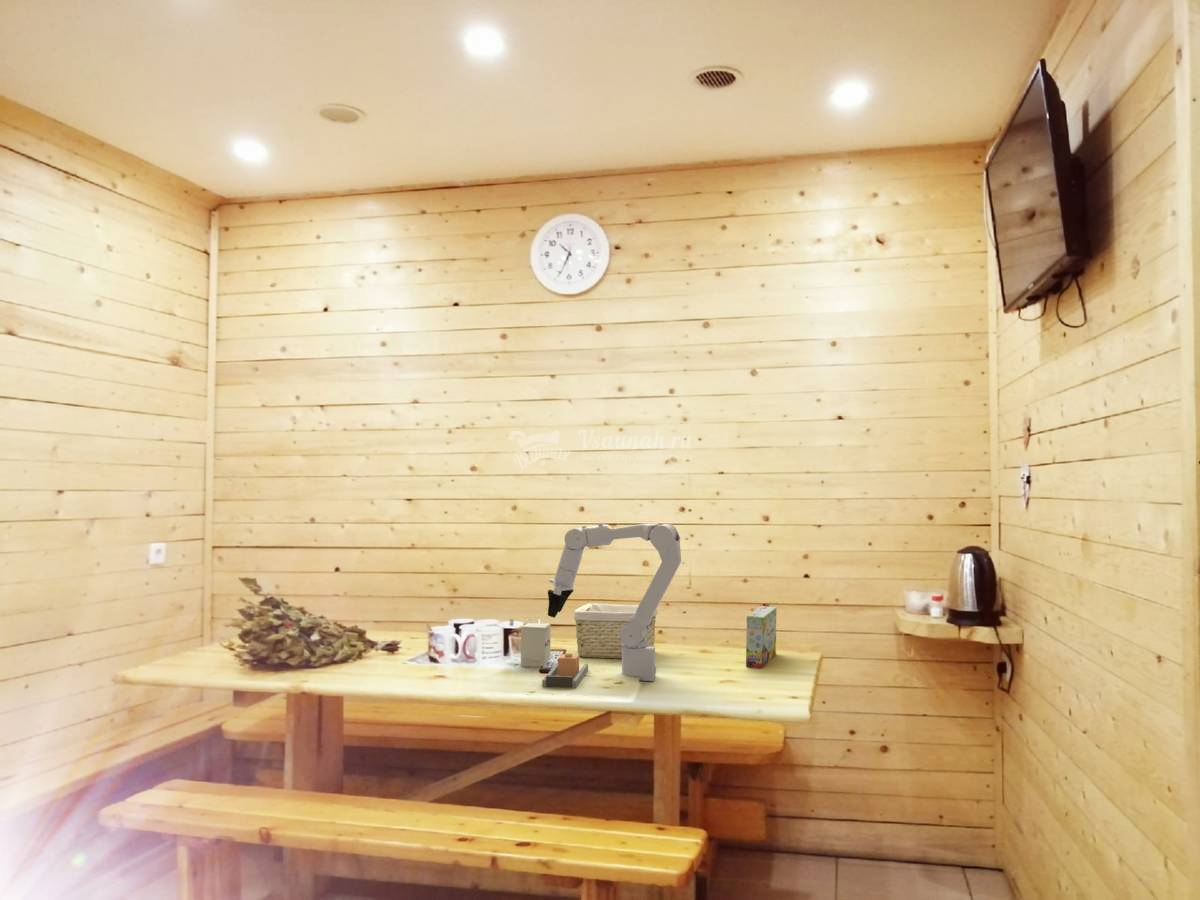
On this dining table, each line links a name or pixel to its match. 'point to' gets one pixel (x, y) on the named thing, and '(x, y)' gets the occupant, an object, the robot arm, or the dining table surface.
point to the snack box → (761, 637)
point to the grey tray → (563, 678)
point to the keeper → (568, 665)
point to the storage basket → (605, 629)
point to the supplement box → (535, 644)
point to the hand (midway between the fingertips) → (554, 613)
